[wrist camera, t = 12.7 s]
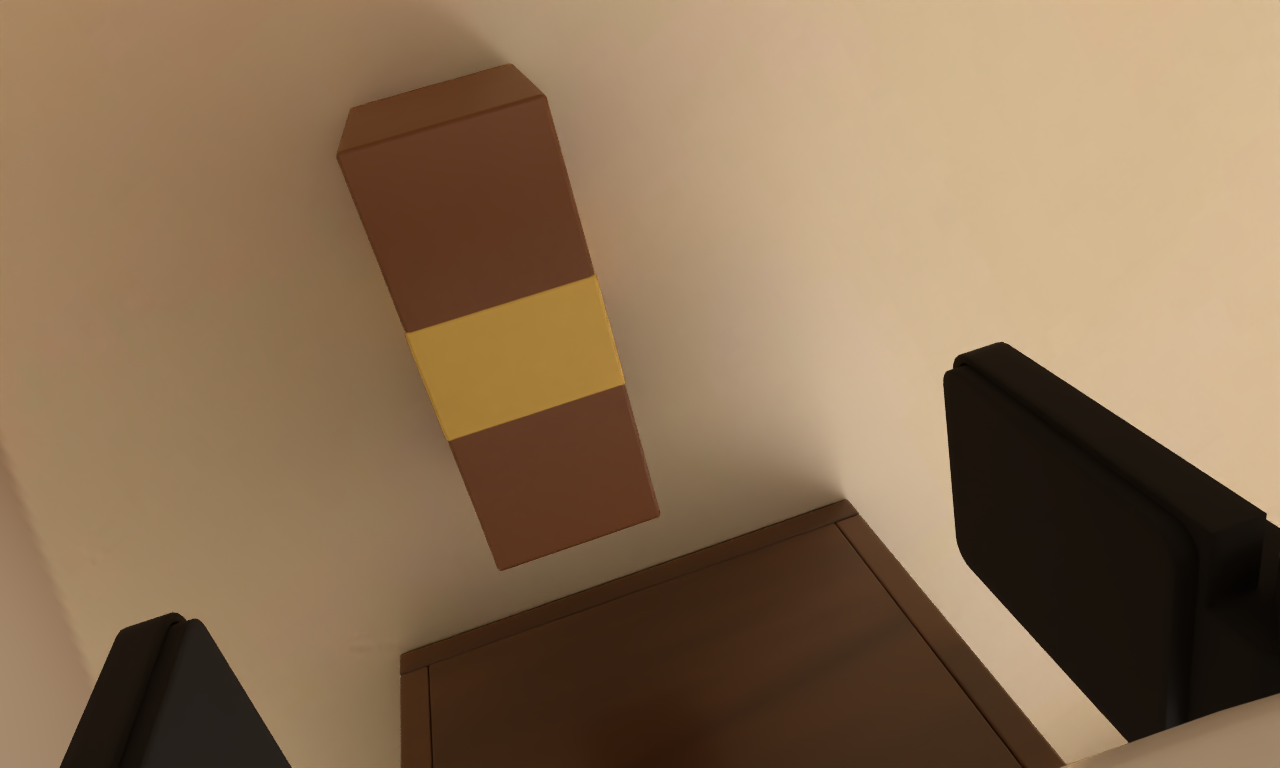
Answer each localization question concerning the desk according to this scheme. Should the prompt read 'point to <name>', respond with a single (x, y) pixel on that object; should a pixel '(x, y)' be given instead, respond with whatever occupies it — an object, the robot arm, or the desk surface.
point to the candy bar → (501, 308)
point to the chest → (723, 670)
